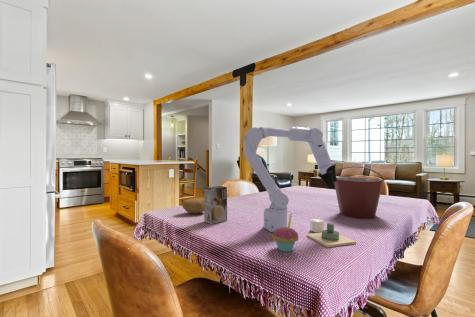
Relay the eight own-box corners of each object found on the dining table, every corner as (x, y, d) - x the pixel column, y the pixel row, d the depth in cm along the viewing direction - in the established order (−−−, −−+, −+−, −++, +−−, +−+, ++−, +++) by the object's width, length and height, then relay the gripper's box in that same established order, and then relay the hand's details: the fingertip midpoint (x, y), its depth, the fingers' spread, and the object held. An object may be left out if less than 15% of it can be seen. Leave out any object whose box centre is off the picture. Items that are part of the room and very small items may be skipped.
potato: (181, 212, 133) (180, 197, 133) (206, 210, 138) (206, 196, 138) (183, 216, 124) (183, 200, 124) (210, 214, 129) (210, 199, 129)
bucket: (324, 213, 130) (325, 166, 130) (343, 207, 145) (344, 164, 144) (375, 223, 112) (375, 168, 112) (391, 215, 127) (391, 166, 126)
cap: (315, 232, 99) (315, 222, 99) (308, 229, 104) (308, 219, 103) (326, 231, 100) (326, 221, 100) (318, 228, 105) (318, 218, 105)
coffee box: (219, 218, 121) (219, 185, 121) (227, 220, 116) (227, 186, 116) (203, 221, 116) (203, 187, 115) (211, 224, 111) (211, 188, 110)
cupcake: (294, 244, 86) (294, 210, 86) (301, 254, 78) (301, 216, 78) (270, 244, 86) (270, 210, 86) (274, 254, 78) (274, 216, 77)
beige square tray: (326, 247, 83) (326, 230, 83) (306, 236, 95) (306, 221, 95) (355, 243, 87) (356, 227, 87) (333, 233, 98) (333, 218, 98)
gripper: (327, 156, 97) (340, 188, 97) (333, 148, 109) (344, 176, 109) (310, 161, 100) (323, 192, 101) (317, 153, 113) (328, 181, 113)
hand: (333, 184), depth 105 cm, fingers open, 7 cm apart
